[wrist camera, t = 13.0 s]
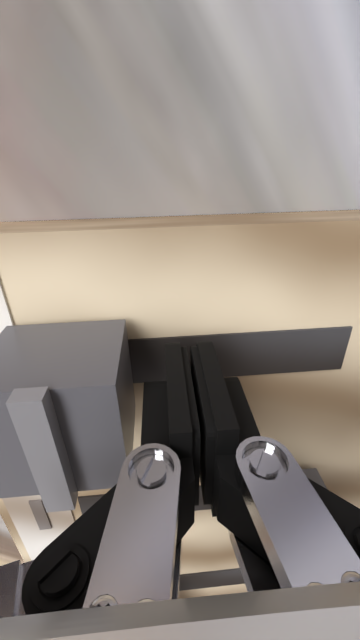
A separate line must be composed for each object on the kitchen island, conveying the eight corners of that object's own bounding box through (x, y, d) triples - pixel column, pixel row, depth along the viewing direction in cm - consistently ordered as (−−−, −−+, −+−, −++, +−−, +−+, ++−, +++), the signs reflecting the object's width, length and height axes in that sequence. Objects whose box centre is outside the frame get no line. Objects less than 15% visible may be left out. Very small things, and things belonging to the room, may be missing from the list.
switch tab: (135, 407, 13) (129, 504, 9) (35, 415, 12) (-11, 517, 9) (125, 316, 11) (112, 395, 7) (5, 323, 10) (-69, 408, 7)
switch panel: (313, 566, 25) (326, 600, 23) (64, 594, 24) (57, 632, 22) (444, 207, 12) (500, 216, 10) (-91, 225, 11) (-144, 240, 9)
